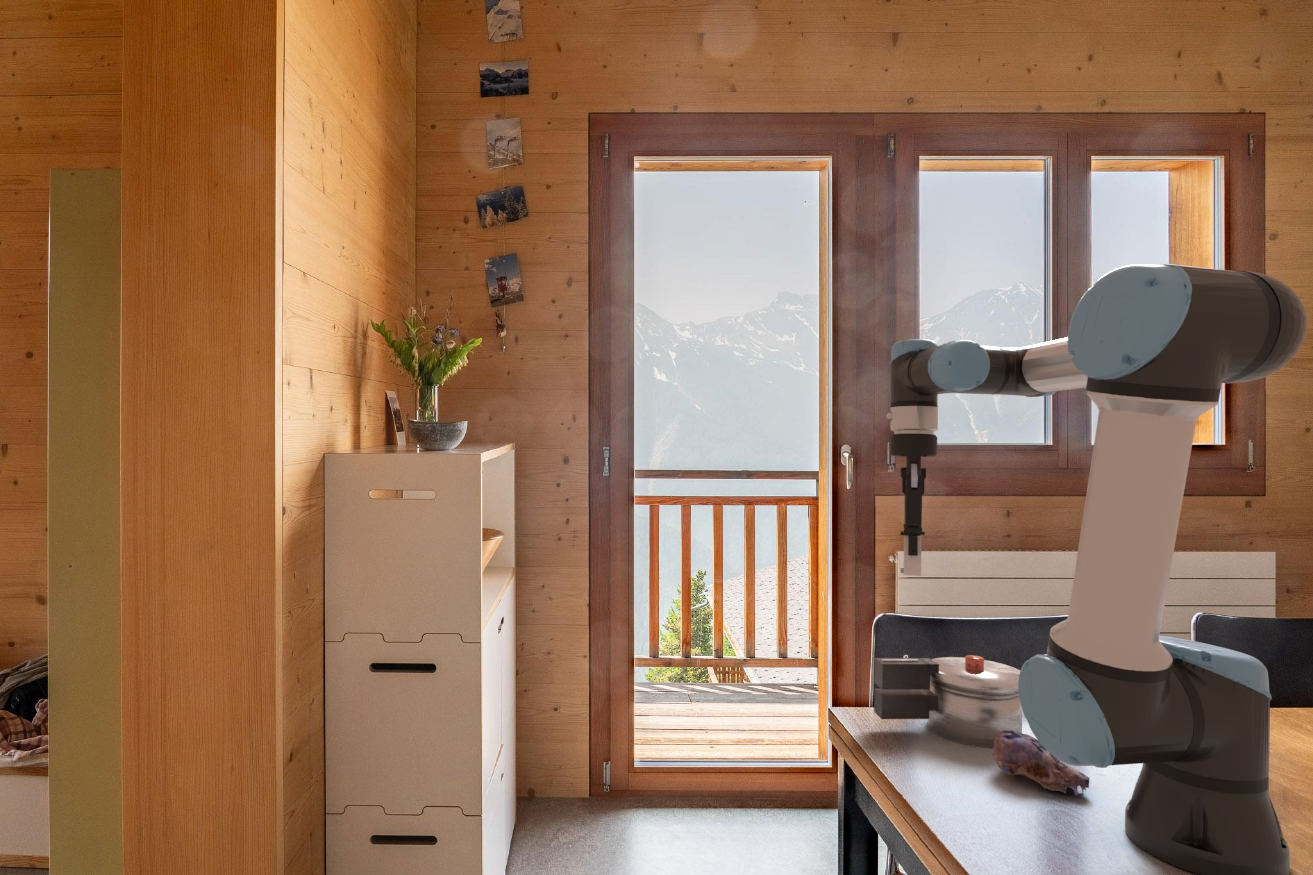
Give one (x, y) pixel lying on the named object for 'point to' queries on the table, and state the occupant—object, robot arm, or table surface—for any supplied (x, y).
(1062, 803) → the table surface
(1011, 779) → the table surface
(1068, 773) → the skull
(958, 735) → the pot
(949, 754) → the table surface
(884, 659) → the lid
